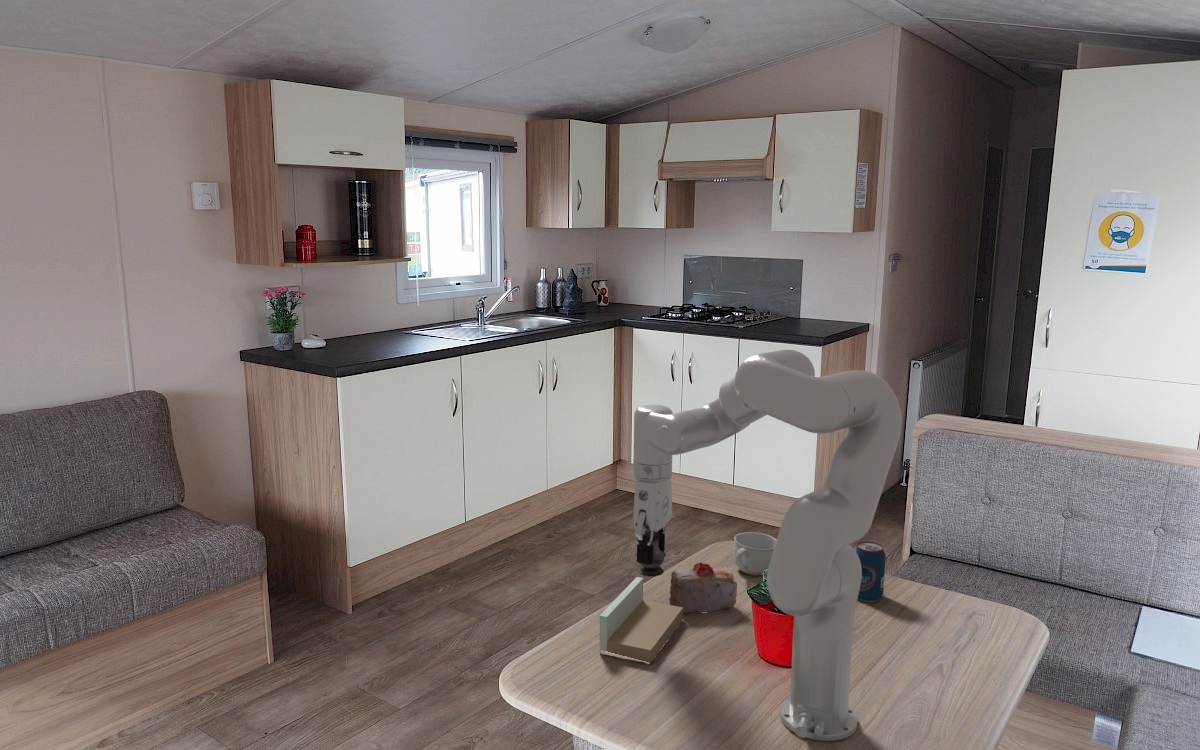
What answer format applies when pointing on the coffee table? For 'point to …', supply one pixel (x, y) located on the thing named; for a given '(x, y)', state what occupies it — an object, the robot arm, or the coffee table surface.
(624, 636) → the cleat board
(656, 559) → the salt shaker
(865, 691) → the coffee table surface
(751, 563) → the teacup
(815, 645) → the robot arm
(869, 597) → the soda can
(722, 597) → the food item
